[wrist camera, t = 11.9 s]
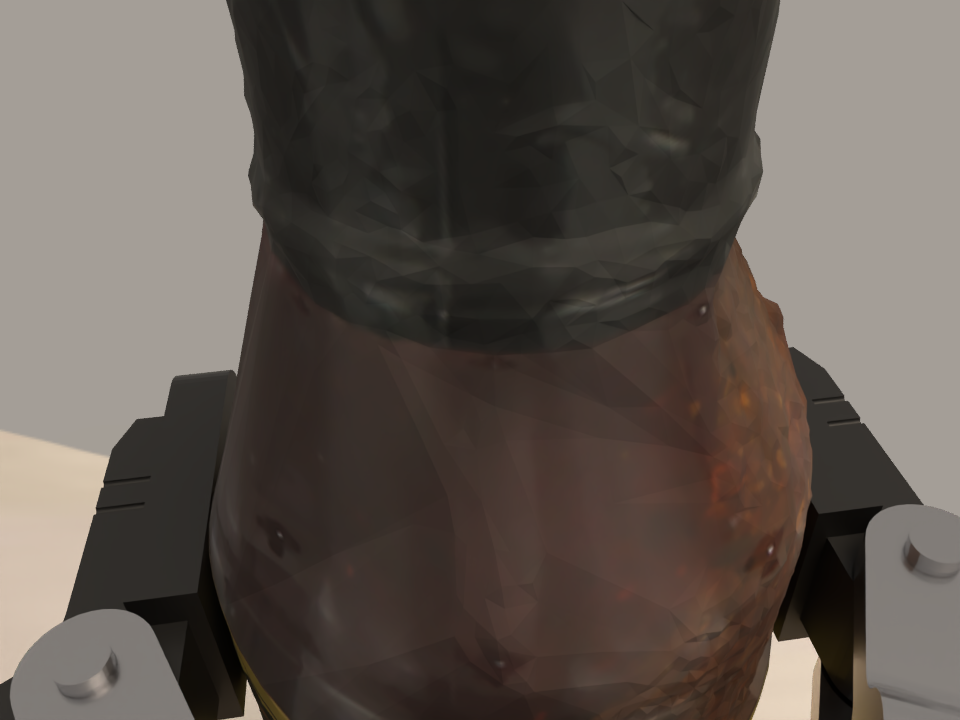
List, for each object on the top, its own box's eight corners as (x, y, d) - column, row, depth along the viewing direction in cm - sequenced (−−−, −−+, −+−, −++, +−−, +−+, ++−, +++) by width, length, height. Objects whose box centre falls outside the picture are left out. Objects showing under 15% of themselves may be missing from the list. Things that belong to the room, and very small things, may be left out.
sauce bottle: (368, 740, 19) (118, -477, 7) (645, 741, 19) (874, -505, 7) (321, 1119, 14) (-833, -877, 2) (698, 1125, 14) (1899, -1014, 2)
